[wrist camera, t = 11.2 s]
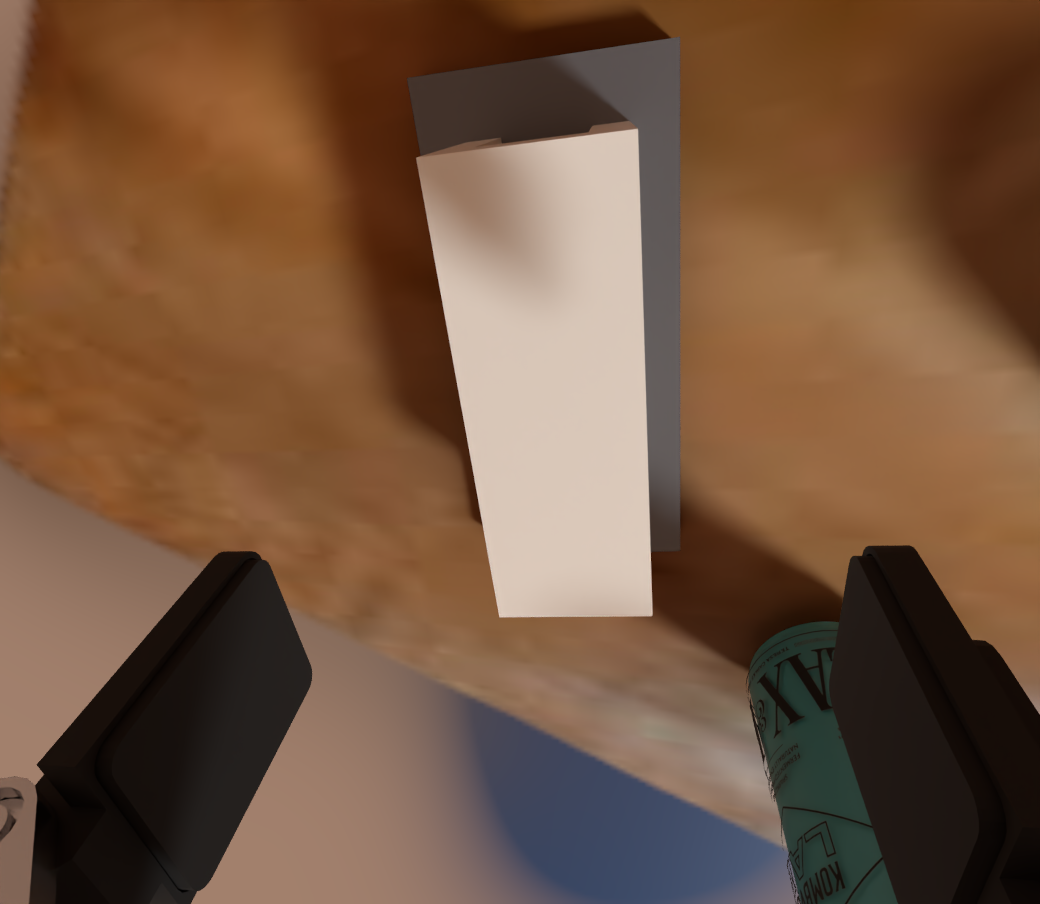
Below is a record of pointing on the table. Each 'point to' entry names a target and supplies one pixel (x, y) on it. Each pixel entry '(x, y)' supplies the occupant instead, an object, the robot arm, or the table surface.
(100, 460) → the table surface
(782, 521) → the table surface
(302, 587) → the table surface
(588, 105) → the header
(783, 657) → the beverage bottle
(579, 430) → the white rectangular block
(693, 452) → the table surface
